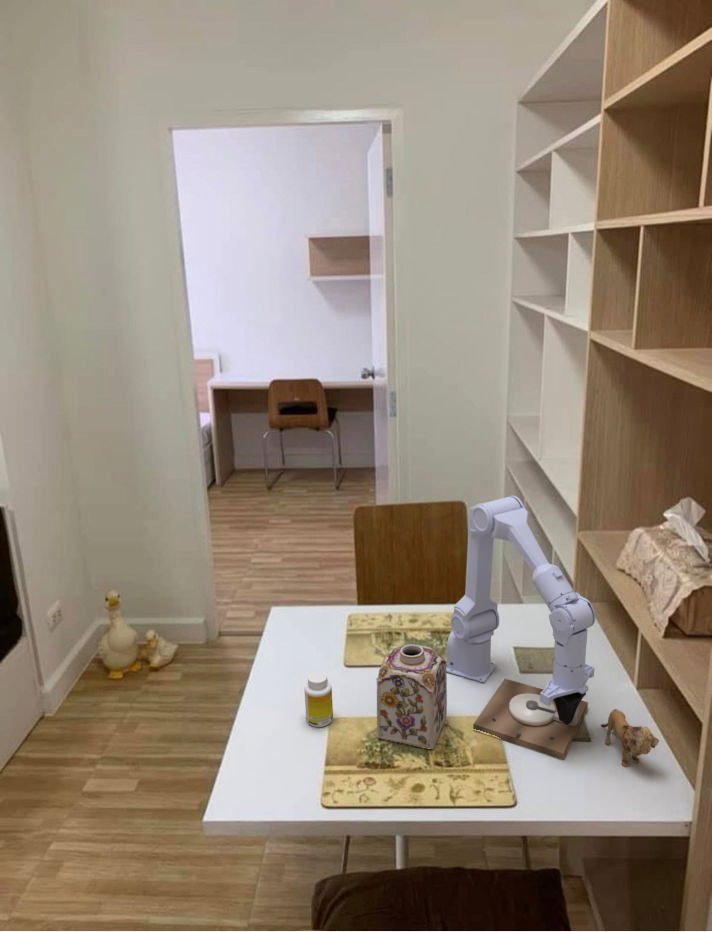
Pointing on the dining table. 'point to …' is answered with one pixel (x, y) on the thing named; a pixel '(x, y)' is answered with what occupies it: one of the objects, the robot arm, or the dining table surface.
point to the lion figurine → (629, 737)
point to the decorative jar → (412, 695)
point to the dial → (534, 710)
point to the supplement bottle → (318, 700)
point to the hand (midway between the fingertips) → (565, 720)
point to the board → (537, 738)
